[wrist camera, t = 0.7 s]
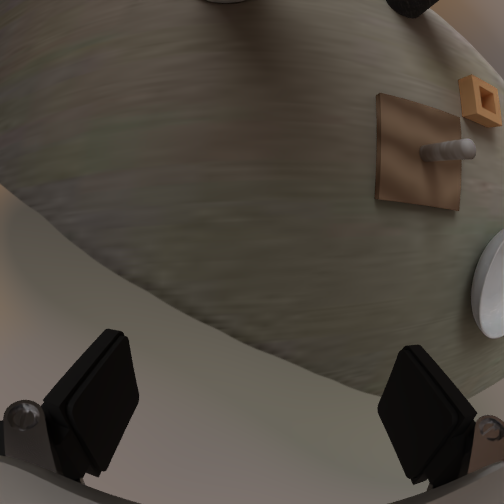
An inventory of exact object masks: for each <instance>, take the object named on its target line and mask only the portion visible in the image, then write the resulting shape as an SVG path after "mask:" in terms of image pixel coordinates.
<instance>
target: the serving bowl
mask: <svg viewBox="0 0 504 504" xmlns="http://www.w3.org/2000/svg"><path fill="white" fill-rule="evenodd" d="M471 307H472V313H473V316H474V319H475V321H476V324H477V325H478V327H479V329H480V330H481V331H482V332H483V334H484V335H485V336H487V337H489V338H499V337H502V336H504V229H503V230H501V231H500V232H498V233H497V234H496V235H495V236H494V237H493V238H492V239H491V240H490V242H489V243H488V244H487V246H486V247H485V249H484V251H483V253H482V255H481V257H480V259H479V261H478V264H477V267H476V270H475V273H474V277H473V282H472V289H471Z"/></svg>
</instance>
